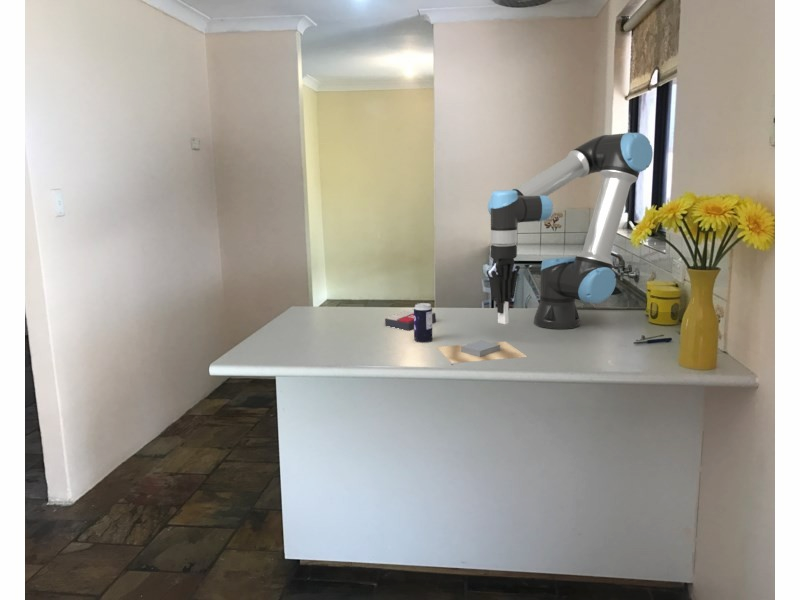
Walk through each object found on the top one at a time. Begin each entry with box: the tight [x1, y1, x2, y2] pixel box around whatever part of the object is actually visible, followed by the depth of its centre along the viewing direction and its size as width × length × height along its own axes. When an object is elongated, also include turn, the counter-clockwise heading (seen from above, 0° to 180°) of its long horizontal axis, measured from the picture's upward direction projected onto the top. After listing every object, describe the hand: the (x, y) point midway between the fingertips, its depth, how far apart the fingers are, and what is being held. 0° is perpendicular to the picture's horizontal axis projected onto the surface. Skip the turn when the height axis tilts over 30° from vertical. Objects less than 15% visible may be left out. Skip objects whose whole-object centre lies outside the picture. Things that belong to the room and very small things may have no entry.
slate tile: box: [461, 339, 500, 357], centre depth 170 cm, size 2×7×9 cm
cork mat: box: [436, 341, 528, 366], centre depth 170 cm, size 22×16×1 cm
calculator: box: [384, 308, 437, 332], centre depth 205 cm, size 11×4×15 cm
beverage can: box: [413, 302, 433, 344], centre depth 182 cm, size 6×6×12 cm
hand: (503, 322), depth 175 cm, fingers closed
